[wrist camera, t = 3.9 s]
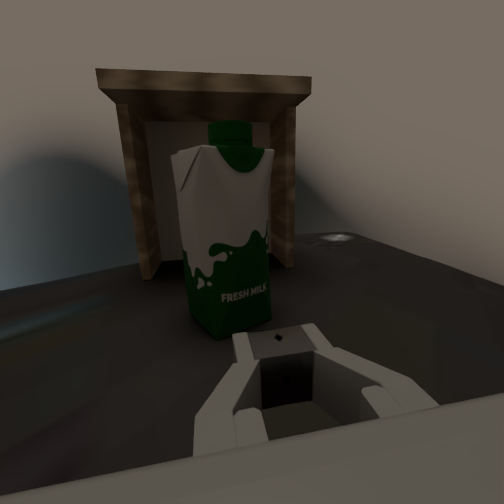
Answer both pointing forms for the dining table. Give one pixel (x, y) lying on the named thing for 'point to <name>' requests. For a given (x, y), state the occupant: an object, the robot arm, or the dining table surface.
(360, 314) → the dining table surface
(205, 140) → the wooden shelf
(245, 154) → the milk carton
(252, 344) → the robot arm
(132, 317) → the dining table surface
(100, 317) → the dining table surface
